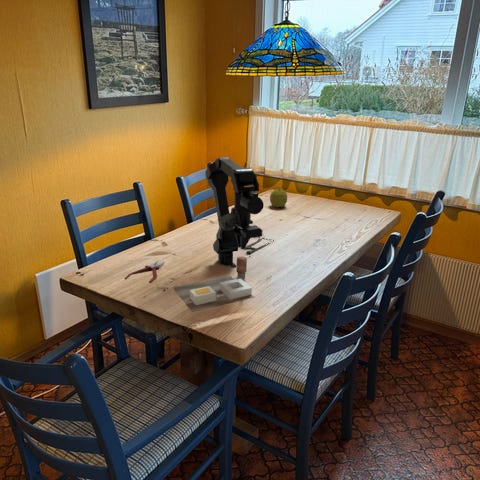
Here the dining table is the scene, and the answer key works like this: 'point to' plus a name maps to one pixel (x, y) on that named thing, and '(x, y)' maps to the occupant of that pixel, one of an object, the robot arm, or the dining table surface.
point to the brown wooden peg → (241, 267)
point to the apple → (278, 198)
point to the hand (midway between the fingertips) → (241, 248)
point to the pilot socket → (235, 288)
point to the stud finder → (202, 295)
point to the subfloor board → (215, 285)
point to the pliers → (147, 269)
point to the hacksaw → (249, 252)
